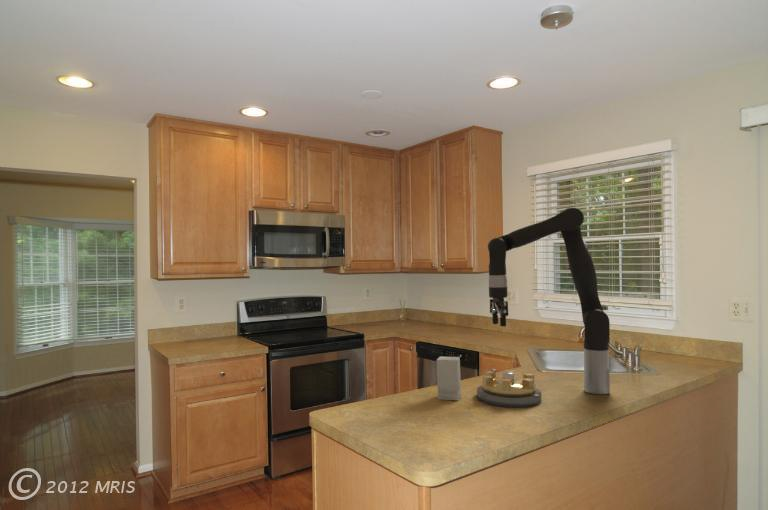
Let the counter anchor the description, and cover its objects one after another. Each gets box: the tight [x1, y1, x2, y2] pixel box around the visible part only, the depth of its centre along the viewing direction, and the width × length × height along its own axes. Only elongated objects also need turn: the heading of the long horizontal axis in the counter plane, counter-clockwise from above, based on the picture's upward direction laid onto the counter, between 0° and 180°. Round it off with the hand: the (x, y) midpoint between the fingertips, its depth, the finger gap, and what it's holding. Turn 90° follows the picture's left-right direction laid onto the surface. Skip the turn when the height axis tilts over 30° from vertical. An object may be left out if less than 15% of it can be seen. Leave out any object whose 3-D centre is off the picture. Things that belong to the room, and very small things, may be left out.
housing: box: [476, 385, 542, 409], centre depth 192 cm, size 24×24×3 cm
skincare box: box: [436, 355, 462, 401], centre depth 193 cm, size 8×7×16 cm
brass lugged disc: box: [481, 369, 537, 397], centre depth 192 cm, size 20×20×6 cm
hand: (499, 325), depth 207 cm, fingers open, 8 cm apart
